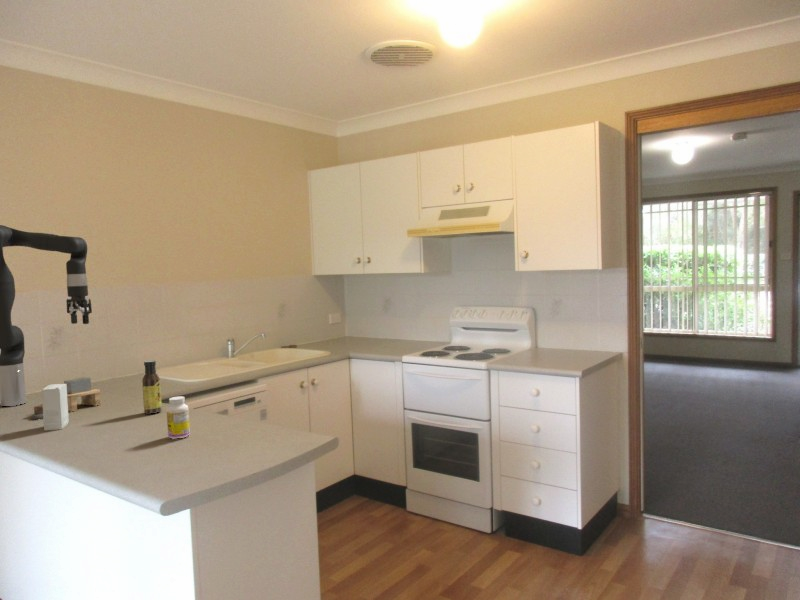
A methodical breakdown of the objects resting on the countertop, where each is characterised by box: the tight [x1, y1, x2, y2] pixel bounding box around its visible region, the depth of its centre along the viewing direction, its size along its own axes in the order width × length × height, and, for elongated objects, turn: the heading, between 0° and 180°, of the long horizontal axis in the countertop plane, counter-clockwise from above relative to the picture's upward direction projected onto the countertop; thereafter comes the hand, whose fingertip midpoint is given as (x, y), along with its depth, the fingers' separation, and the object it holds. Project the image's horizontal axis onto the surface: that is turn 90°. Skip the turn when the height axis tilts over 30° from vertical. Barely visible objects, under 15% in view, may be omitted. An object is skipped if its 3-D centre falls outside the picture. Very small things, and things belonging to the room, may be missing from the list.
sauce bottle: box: [141, 360, 163, 415], centre depth 224 cm, size 6×6×20 cm
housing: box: [63, 376, 92, 394], centre depth 238 cm, size 8×5×5 cm, turn 148°
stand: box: [67, 388, 101, 413], centre depth 238 cm, size 10×12×6 cm
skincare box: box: [41, 383, 69, 431], centre depth 208 cm, size 8×6×15 cm
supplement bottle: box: [166, 396, 191, 439], centre depth 190 cm, size 7×7×13 cm
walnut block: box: [33, 403, 43, 415], centre depth 227 cm, size 4×4×4 cm
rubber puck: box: [31, 414, 44, 421], centre depth 222 cm, size 4×4×2 cm
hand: (80, 323), depth 246 cm, fingers open, 8 cm apart
